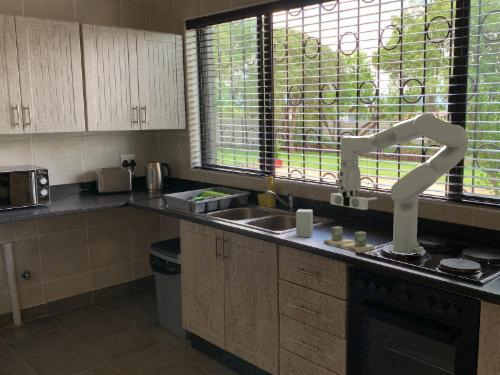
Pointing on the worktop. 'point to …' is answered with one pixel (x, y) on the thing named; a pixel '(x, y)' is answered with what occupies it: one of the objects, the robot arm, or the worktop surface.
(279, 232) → the worktop surface
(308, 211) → the supplement box
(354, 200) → the glasses
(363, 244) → the display stand
